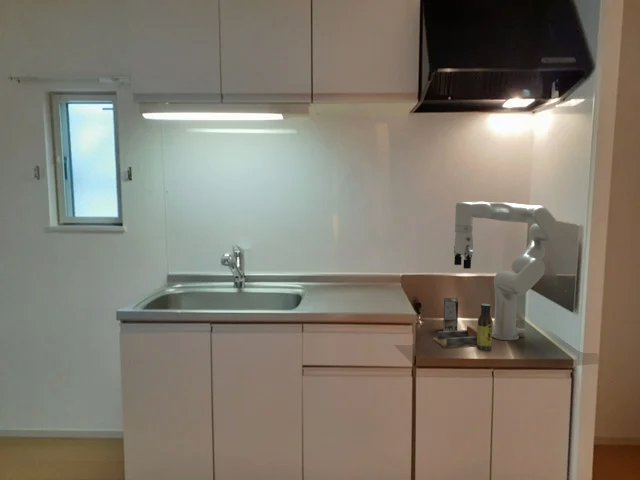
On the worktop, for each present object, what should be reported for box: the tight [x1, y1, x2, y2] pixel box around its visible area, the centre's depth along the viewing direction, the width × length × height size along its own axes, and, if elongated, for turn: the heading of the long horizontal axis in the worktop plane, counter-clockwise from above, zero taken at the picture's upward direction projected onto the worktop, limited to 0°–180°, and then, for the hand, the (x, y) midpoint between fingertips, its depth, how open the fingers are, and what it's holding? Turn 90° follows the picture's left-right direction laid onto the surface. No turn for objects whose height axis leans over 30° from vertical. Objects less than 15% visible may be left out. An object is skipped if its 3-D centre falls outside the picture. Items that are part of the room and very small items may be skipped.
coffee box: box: [442, 297, 459, 331], centre depth 233 cm, size 9×6×16 cm
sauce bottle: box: [476, 303, 494, 351], centre depth 208 cm, size 6×6×20 cm
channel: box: [432, 325, 477, 349], centre depth 218 cm, size 18×12×6 cm, turn 99°
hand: (462, 266), depth 217 cm, fingers open, 9 cm apart
